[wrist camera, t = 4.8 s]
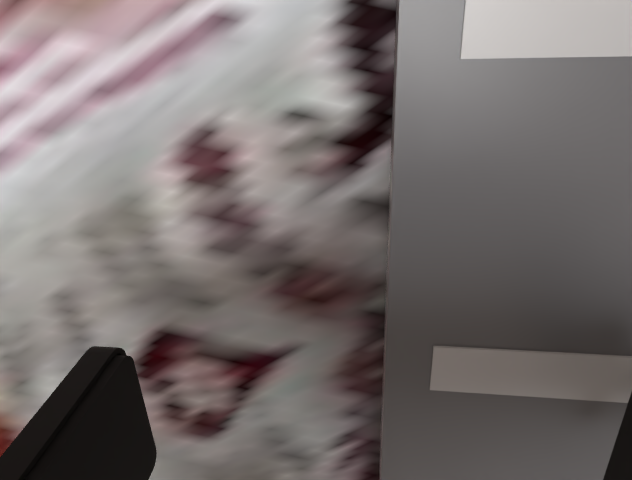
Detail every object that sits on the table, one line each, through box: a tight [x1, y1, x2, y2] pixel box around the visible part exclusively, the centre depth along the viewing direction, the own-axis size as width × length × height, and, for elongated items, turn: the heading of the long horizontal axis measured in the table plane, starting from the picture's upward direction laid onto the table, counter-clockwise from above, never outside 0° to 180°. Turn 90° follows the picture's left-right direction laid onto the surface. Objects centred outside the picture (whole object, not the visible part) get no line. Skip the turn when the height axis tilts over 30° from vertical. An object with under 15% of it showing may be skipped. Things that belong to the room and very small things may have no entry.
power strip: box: [379, 0, 632, 480], centre depth 12 cm, size 22×11×3 cm, turn 2°
